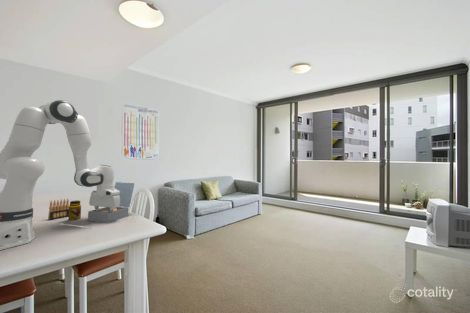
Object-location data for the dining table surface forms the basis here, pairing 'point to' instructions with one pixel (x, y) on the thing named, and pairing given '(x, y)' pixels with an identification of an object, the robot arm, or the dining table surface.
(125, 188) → the lid
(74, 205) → the condiment
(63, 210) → the ammunition clip
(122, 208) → the housing
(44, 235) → the dining table surface
